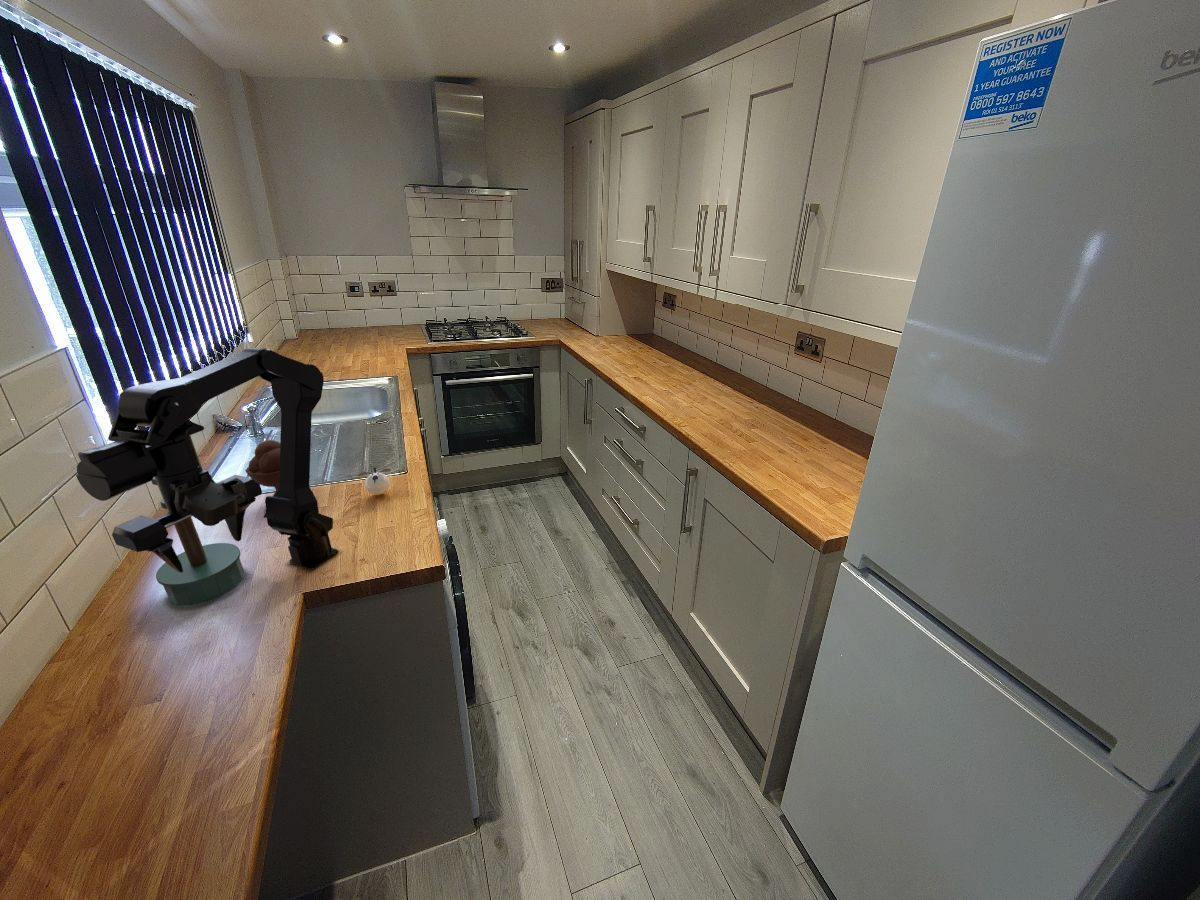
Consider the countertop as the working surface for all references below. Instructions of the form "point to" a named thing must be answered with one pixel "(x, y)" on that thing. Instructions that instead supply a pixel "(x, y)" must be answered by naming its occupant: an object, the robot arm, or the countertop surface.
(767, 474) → the countertop surface
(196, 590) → the tin
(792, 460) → the countertop surface
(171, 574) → the lid
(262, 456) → the ice cream bowl
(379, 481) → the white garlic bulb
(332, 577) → the countertop surface
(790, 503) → the countertop surface
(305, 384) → the robot arm
